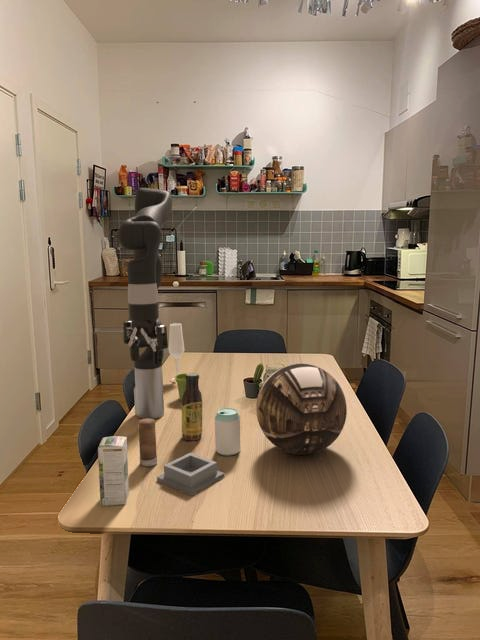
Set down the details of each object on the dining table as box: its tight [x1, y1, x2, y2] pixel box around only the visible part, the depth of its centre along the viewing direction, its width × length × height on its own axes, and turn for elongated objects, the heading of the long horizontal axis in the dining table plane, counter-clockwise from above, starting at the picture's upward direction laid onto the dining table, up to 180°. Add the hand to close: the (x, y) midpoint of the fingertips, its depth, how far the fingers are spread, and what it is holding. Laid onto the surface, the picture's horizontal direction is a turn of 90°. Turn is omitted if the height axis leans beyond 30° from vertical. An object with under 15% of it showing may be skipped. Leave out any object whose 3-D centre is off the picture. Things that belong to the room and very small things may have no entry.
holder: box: [156, 452, 225, 497], centre depth 127 cm, size 12×12×4 cm
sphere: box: [255, 363, 348, 456], centre depth 141 cm, size 25×25×25 cm
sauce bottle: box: [181, 372, 203, 441], centre depth 152 cm, size 6×6×20 cm
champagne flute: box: [168, 323, 185, 381], centre depth 210 cm, size 7×7×24 cm
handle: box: [137, 419, 158, 469], centre depth 135 cm, size 5×5×12 cm
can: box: [214, 407, 241, 457], centre depth 142 cm, size 7×7×12 cm
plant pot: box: [174, 372, 201, 401], centre depth 188 cm, size 9×9×9 cm
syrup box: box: [97, 435, 130, 507], centre depth 117 cm, size 6×6×14 cm
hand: (146, 362), depth 131 cm, fingers open, 8 cm apart
